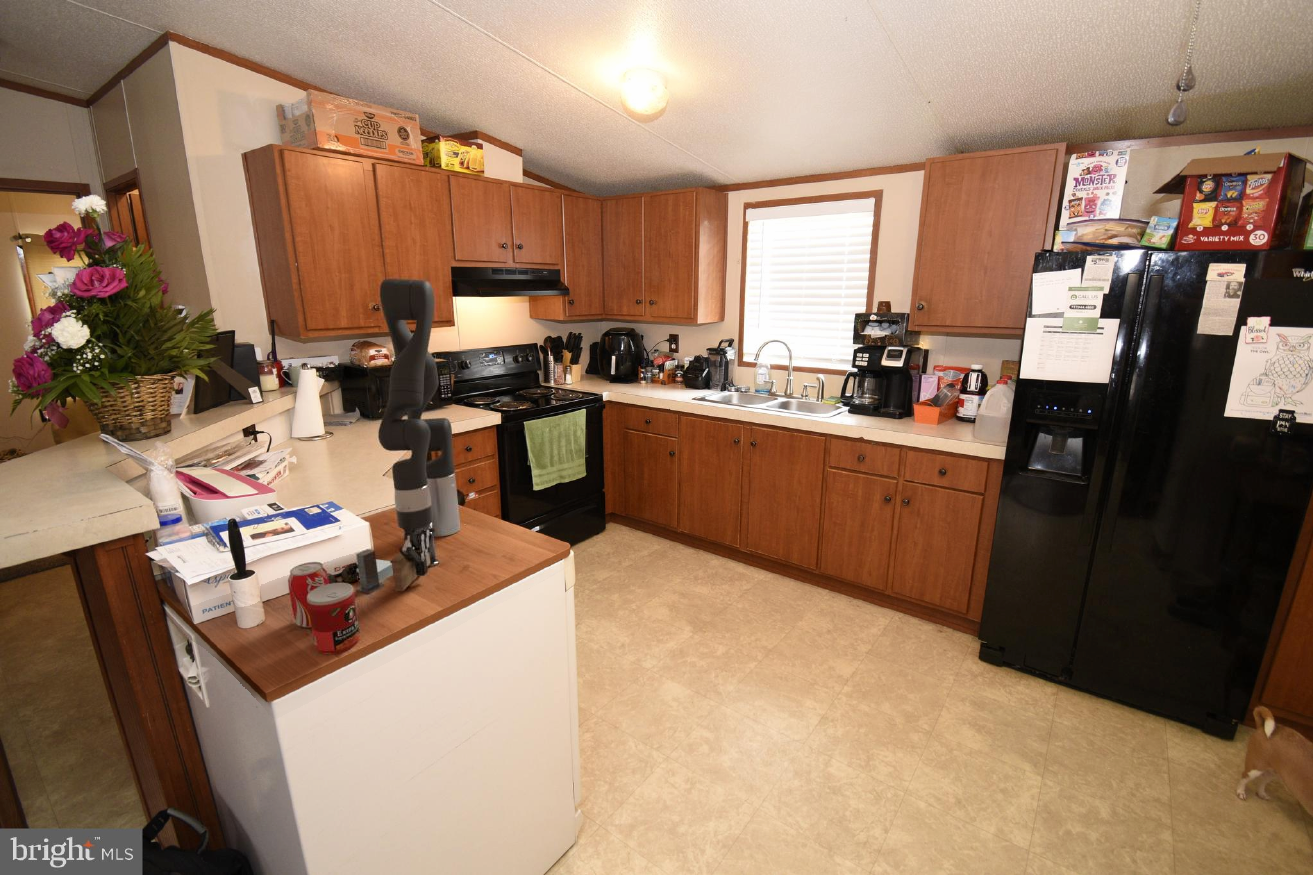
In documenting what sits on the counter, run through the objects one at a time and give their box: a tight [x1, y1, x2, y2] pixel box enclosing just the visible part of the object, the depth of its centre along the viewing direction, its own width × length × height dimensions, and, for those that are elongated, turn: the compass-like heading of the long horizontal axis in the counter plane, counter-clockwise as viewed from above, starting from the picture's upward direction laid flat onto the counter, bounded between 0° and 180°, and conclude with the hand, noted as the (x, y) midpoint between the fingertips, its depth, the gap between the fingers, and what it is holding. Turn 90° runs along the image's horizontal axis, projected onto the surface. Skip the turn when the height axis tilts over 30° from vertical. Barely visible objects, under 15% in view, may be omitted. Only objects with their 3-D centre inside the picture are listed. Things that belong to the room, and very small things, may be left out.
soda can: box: [287, 561, 330, 628], centre depth 116 cm, size 7×7×12 cm
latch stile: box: [355, 548, 385, 595], centre depth 130 cm, size 4×4×9 cm
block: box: [356, 558, 393, 583], centre depth 137 cm, size 6×6×3 cm
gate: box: [389, 552, 430, 592], centre depth 134 cm, size 14×2×7 cm, turn 177°
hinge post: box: [427, 523, 440, 568], centre depth 142 cm, size 4×4×11 cm
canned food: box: [307, 582, 361, 655], centre depth 109 cm, size 8×8×11 cm
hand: (422, 574), depth 133 cm, fingers closed
